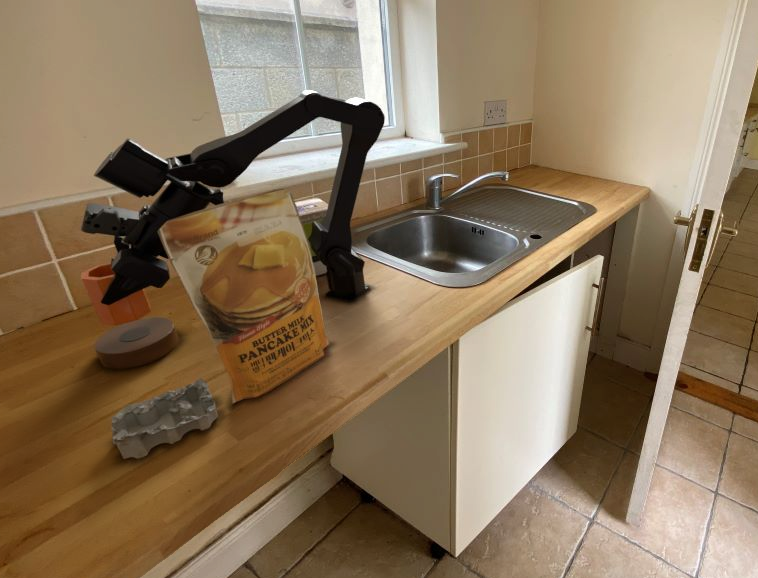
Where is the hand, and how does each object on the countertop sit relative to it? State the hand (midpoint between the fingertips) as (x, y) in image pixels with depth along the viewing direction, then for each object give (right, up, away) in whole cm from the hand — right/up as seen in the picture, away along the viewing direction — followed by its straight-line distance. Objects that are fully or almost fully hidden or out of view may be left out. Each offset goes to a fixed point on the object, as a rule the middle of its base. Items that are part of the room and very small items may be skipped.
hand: (105, 294), depth 69 cm
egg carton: (+17, -17, -8) cm, 26 cm away
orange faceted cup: (+1, -3, +3) cm, 4 cm away
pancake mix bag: (+25, -12, +3) cm, 28 cm away
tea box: (+14, +3, +32) cm, 36 cm away
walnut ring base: (+1, -10, +6) cm, 11 cm away
